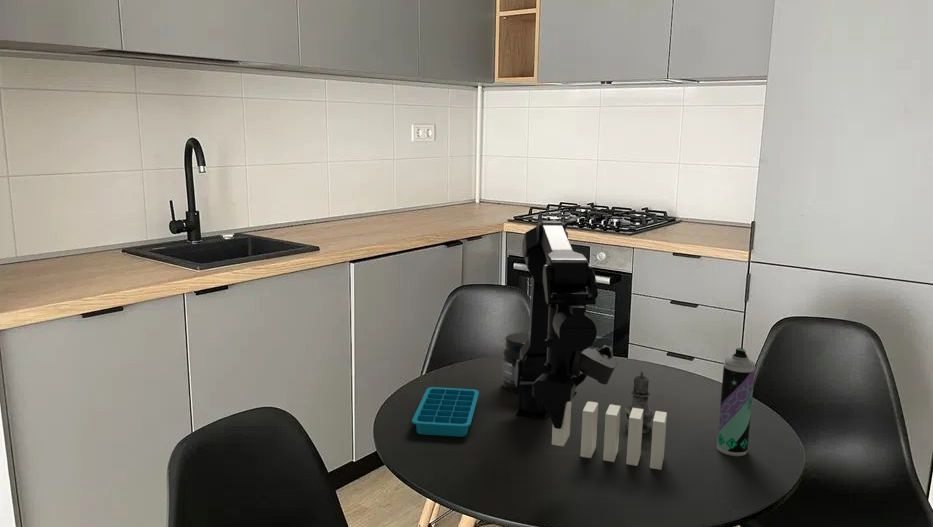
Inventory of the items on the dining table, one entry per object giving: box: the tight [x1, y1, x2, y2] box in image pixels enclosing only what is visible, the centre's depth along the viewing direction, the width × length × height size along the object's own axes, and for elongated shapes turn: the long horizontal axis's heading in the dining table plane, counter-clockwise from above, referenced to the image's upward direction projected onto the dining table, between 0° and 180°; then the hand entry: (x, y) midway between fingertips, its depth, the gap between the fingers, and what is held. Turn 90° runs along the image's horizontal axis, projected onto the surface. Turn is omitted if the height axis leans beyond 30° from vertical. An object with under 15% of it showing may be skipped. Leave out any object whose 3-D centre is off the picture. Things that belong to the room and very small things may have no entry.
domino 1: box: [551, 401, 572, 447], centre depth 121 cm, size 2×5×9 cm, turn 160°
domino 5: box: [649, 410, 668, 471], centre depth 131 cm, size 2×5×9 cm, turn 160°
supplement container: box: [501, 332, 529, 394], centre depth 168 cm, size 10×10×12 cm
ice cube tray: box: [411, 386, 480, 437], centre depth 151 cm, size 12×20×3 cm, turn 174°
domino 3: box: [602, 403, 622, 463], centre depth 133 cm, size 2×5×9 cm, turn 160°
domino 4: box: [625, 408, 644, 467], centre depth 132 cm, size 2×5×9 cm, turn 160°
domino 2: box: [580, 400, 599, 459], centre depth 135 cm, size 2×5×9 cm, turn 160°
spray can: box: [716, 347, 756, 457], centre depth 136 cm, size 6×6×20 cm
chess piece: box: [624, 371, 655, 434], centre depth 146 cm, size 6×6×12 cm
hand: (561, 422), depth 121 cm, fingers closed on domino 1, 5 cm apart
